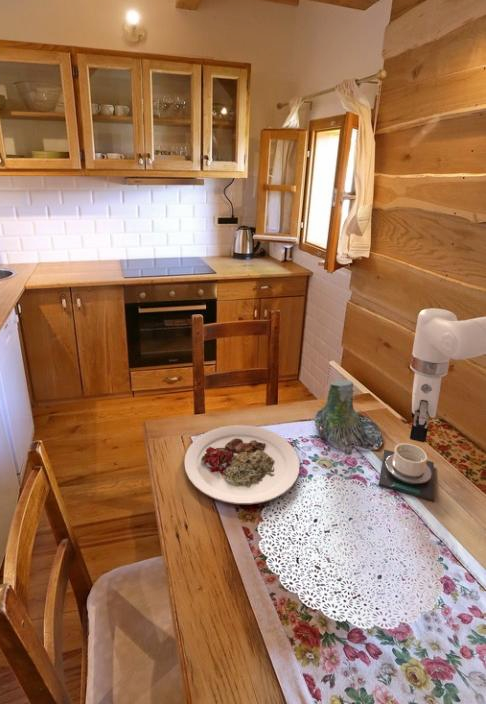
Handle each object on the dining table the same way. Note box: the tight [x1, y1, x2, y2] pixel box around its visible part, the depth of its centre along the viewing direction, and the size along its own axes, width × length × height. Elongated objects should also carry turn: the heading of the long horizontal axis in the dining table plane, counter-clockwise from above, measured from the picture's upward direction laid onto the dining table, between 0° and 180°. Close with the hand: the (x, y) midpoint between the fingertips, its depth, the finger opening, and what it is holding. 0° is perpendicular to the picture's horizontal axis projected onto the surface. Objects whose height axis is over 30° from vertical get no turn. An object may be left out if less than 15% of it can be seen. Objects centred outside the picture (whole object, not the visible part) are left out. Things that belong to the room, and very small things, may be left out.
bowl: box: [392, 442, 428, 476], centre depth 100 cm, size 7×7×4 cm
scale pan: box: [386, 454, 431, 484], centre depth 101 cm, size 10×10×2 cm
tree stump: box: [313, 379, 384, 454], centre depth 119 cm, size 18×20×18 cm
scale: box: [378, 448, 435, 503], centre depth 102 cm, size 12×14×2 cm
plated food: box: [183, 424, 300, 505], centre depth 107 cm, size 30×30×3 cm
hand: (417, 429), depth 96 cm, fingers open, 9 cm apart
